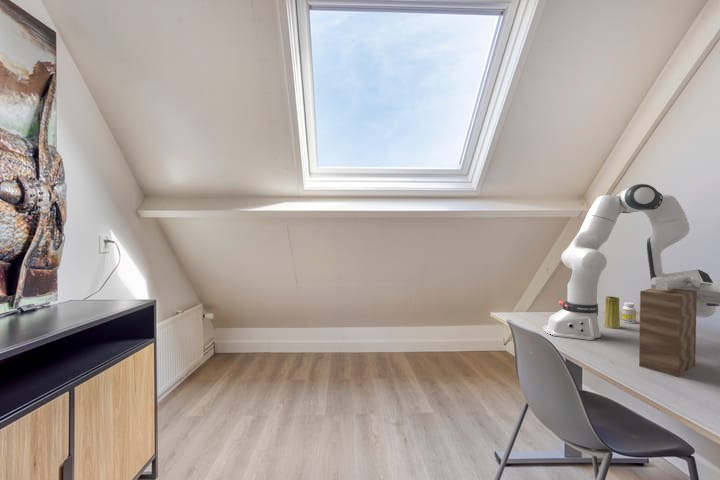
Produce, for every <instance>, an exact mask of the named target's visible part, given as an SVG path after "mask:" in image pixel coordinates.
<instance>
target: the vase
mask: <svg viewBox="0 0 720 480" xmlns="http://www.w3.org/2000/svg"><path fill="white" fill-rule="evenodd" d="M604 308H605V309H604V310H605V311H604V323H603V324H604V325H603V326H604V327H605V328H609V329H615V330H618V329H621V322H620V321H621V320H620V297H618V296H605V307H604Z"/></svg>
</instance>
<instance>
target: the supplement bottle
mask: <svg viewBox="0 0 720 480" xmlns="http://www.w3.org/2000/svg"><path fill="white" fill-rule="evenodd" d="M636 314H637V309H636V307H635V303H633V302H628V301H627V302H623V306H622V307H621V321H622V323H626V324H635V323H636V317H637V315H636Z"/></svg>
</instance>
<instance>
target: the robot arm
mask: <svg viewBox="0 0 720 480" xmlns="http://www.w3.org/2000/svg"><path fill="white" fill-rule="evenodd" d="M637 212H643V213H644V214H645V215H646V216H647V218H648V220H649V222H650V225H651V227H652V231H651V236H650V237H649V238H647V241H646V254H647V261H648V268H649V276H650V281H649V284H650V285H649V286H650V289H651V288H655V287H656V280H658V279H662V278H667V277H671V276H676V275H688V276H691V278H687V283H688V285H685V286H681V287H677V288H676V289H685V290H694V291H697V302H696V318H697V317H698V318H709V317H712V316H713V315H715V313H716V312H717V307H720V283H716V282H713V280H712V278H711V277H710V275H709V273H707V272H705V271H703V270H702V269H692V270H684V271H683V270H682V271H677V272H672V273H665V272H664V271H663V265H662V263H663V262H662V253H663V251H664V250H665V249H667V248H668V247H670V246H672V245H674V244H677V243H679V242H680V241H681V240H683V239H684V238H686V237H687V235H688V234H689V233H690V224H689V220H688V217H687V215H686V213H685V210H684V209H683V207H682V205H681V203H680V202H679V200H678V199H677V198H676V197H675V196H672V195H669V194H665V195H664V194H662V193H661V192H659V191H658V190H657V189H656V188H655V187H654V186H652V185H651V184H645V183H639V184H634V185H632V186H629V187H626V188H624V189H623V190H621V191H619V192H617V194H615V195H611V194H603V195H600V196H598V197H597V198H596V199H595V200H594V201H593V203H592V204H591V207H590V208H589V210H588V211H587V213H586V216H585V218H584V220H583V222H582V224H581V227H580V228H579V231H578V233H577V234H576V235H575V237H574V238H573V240H572V241H570V242H571V243H569V245H568V247H567V248H566V249H564V251H563V252H562V253H561V255H560V257H561V261H562V264H564V266H565V267H566V268H568V269H571V270H572V272H571V277H570V280H569V281H568V283H567V293H566V294H567V299H566V301H562V300H559V302H558V304H559V305H560V306H561V307H562V309H560V310H558V311H556V312H554V314H551V315H550V316H549V318H548V321H547V324H544V325H542V328H543V329H542V330H543V332H544V333H546V334H547V333H548V334H547V335H550V334H551V335H550V336H552V335H553V337H561V338H571V339H578V340H585V341H586V340H588V341H594V340H595V339H597V338H601V337H602V334H601V331H600V328H599V321H598V316H599V304H598V285H599V281H600V278H601V274H602V272H603V270H605V268H606V267H607V262H608V261H607V258H606V256H605V255H604V254H603V253H602V252H600V251H599V249H600V248H601V247H602V246H603V244H604V243H606V242H607V241H608V240H609V238H610V236H611V234H612V232H613V229H614V227H615V225H616V223H617V221H618V218H619V216H620V215H621V213H622V214H631V213H637Z"/></svg>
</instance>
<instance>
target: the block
mask: <svg viewBox="0 0 720 480" xmlns="http://www.w3.org/2000/svg"><path fill="white" fill-rule="evenodd" d="M687 278H691V276H688V275H676V276H671V277H667V278H662V279H658V280H656V289H662V290H670V289H674V288H677V287H681V286H685V285H688V283H687Z"/></svg>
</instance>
